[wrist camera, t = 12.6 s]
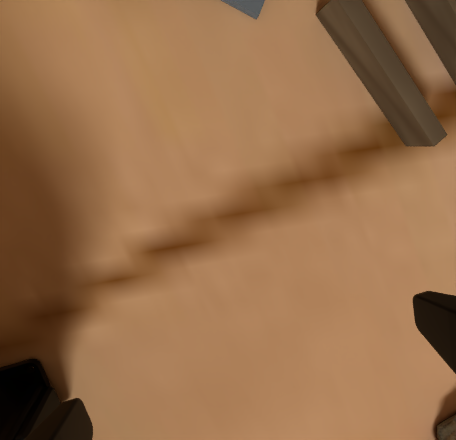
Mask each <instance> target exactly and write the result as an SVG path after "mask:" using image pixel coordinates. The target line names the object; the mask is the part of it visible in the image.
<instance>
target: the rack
mask: <svg viewBox="0 0 456 440" xmlns="http://www.w3.org/2000/svg"><path fill="white" fill-rule="evenodd" d="M405 1H406V3H407V4H408V6H409V8H410V9H411V11H412V13H413V14H414V16H415V18H416V19H417V21H418V23H419V24H420V26H421V28H422V29H423V31H424V33H425V34H426V36H427V38H428V39H429V41H430V43H431V44H432V46H433V48H434V49H435V51H436V53H437V54H438V56H439V58H440V59H441V61H442V63H443V64H444V66H445V68H446V69H447V71H448V73H449V74H450V76H451V78H452V79H453V81H454V83H455V84H456V0H405ZM316 16H317V17H318V19H319V20H320V22H321V23H322V25H323V26H324V27H325V29H326V30H327V32H328V33H329V35H330V36H331V38H332V39H333V41H334V42H335V43H336V45H337V46H338V48H339V49H340V51H341V52H342V54H343V55H344V57H345V58H346V59H347V61H348V62H349V64H350V65H351V67H352V68H353V70H354V71H355V73H356V74H357V75H358V77H359V78H360V80H361V81H362V83H363V84H364V86H365V87H366V89H367V90H368V92H369V93H370V94H371V96H372V97H373V99H374V100H375V102H376V103H377V105H378V106H379V108H380V109H381V110H382V112H383V113H384V115H385V116H386V118H387V119H388V121H389V122H390V124H391V125H392V126H393V128H394V129H395V131H396V132H397V134H398V135H399V137H400V138H401V140H402V141H403V142H404V144H405V145H406V146H435V145H437V144H438V143H439V142H440V141H441V140H442V139H443V138H444V137H445V136H447V133H446V132H445V130H444V128H443V127H442V125H441V124H440V122H439V121H438V119H437V118H436V116H435V114H434V113H433V111H432V110H431V108H430V107H429V105H428V103H427V102H426V100H425V99H424V97H423V96H422V94H421V92H420V91H419V89H418V88H417V86H416V85H415V83H414V81H413V80H412V78H411V77H410V75H409V74H408V72H407V70H406V69H405V67H404V66H403V64H402V63H401V61H400V60H399V58H398V56H397V55H396V53H395V52H394V50H393V49H392V47H391V45H390V44H389V42H388V41H387V39H386V38H385V36H384V34H383V33H382V31H381V30H380V28H379V27H378V25H377V23H376V22H375V20H374V19H373V17H372V16H371V14H370V12H369V11H368V9H367V8H366V6H365V5H364V3H363V2H362V0H331V1H330V2H328V3H327V4H326V5H325V6H324V7H323V8H322V9H321V10H320V11H319V12H318V13H317V14H316Z"/></svg>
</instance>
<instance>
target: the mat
mask: <svg viewBox="0 0 456 440" xmlns="http://www.w3.org/2000/svg"><path fill="white" fill-rule="evenodd" d="M221 1H223V2H225V3H227V4H229V5H231V6H232V7H234V8H236V9H238V10H240V11H242V12H244V13H245V14H247V15H249V16H251V17H253V18H255V19H257V17H258V16H259V14H260V11H261V9H262V6H263V4H264V1H265V0H221Z"/></svg>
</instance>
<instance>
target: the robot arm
mask: <svg viewBox="0 0 456 440" xmlns="http://www.w3.org/2000/svg"><path fill="white" fill-rule="evenodd" d="M413 308H414V317H415V323H416V326H417V328H418V330H419V331H420V332H421V334H422V335H423V336H424V337H425V338H426V340H427V341H428V342H429V343H430V344H431V345H432V347H433V348H434V349H435V350H436V351H437V353H438V354H439V355H440V356H441V357H442V358H443V360H444V361H445V362H446V363H447V364H448V366H449V367H450V368H451V369H452V370H453V371H454V373H455V374H456V296H454V295H448V294H443V293H438V292H432V291H426V292H422V293H419V294H416V295H414V297H413ZM29 366H32V367H34V369H30V368H29ZM92 437H93V426H92V422H91V420H90V418H89V415H88V413H87V411H86V408H85V406H84V404H83V402H82V400H81V399H79V398H75V399H72V400H68V401H65V402H63V403H60V401H59V398H58V396H57V394H56V392H55V389H54V388H53V387H52V386H51V385H50V383H49V380H48V378H47V376H46V374H45V371H44V369H43V367H42V365H41V363H40V362H39V361H38V360H37V359H29V360H25V361H22V362H19V363H15V364H12V365H8V366H5V367H2V368H0V440H92Z"/></svg>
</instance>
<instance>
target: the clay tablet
mask: <svg viewBox="0 0 456 440" xmlns="http://www.w3.org/2000/svg"><path fill="white" fill-rule="evenodd" d="M437 438H438V440H456V414H455V415H454V416H452V417H450V418H448V419H447V420H445V421H443V422H442V423H440V424H439V425H437Z"/></svg>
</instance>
